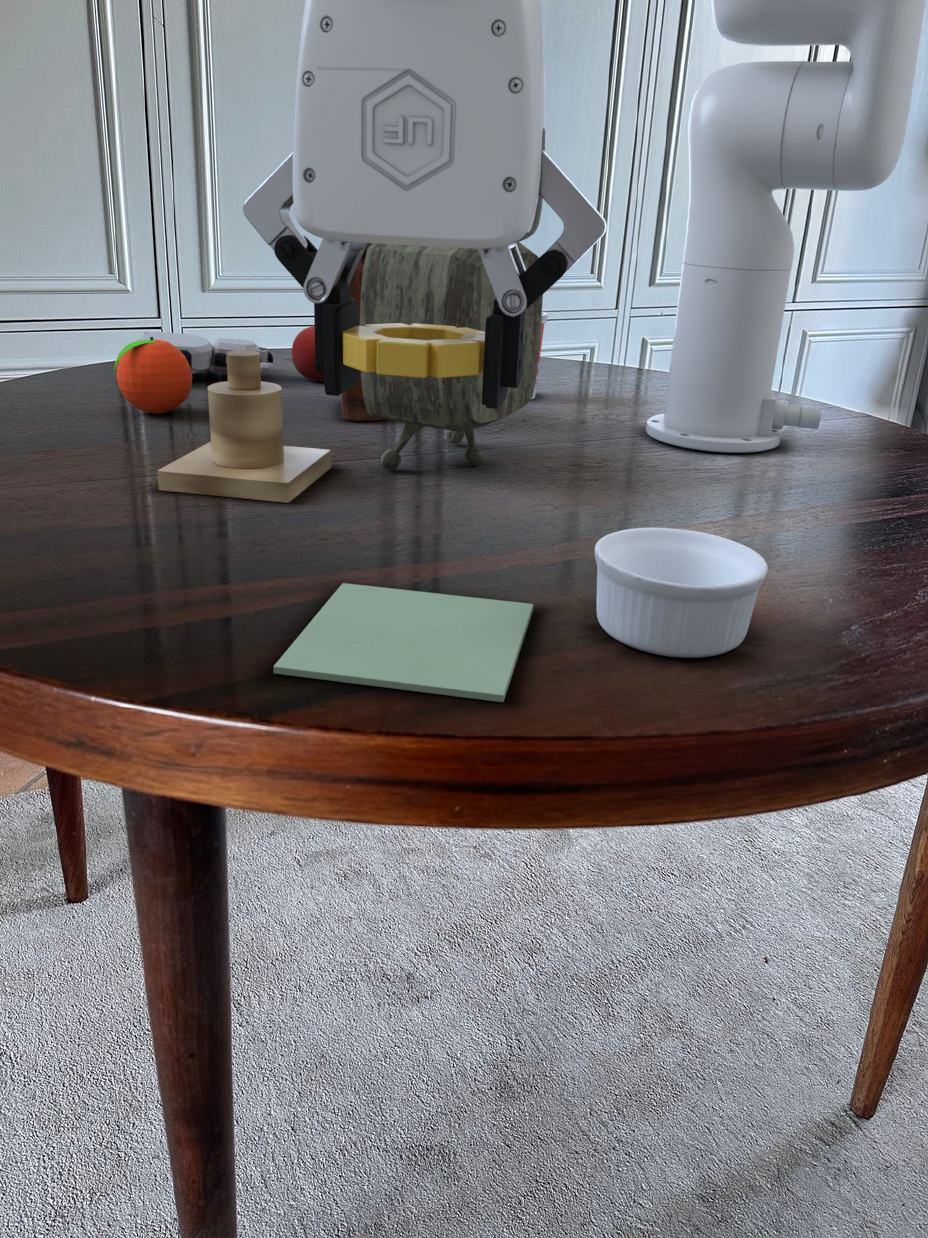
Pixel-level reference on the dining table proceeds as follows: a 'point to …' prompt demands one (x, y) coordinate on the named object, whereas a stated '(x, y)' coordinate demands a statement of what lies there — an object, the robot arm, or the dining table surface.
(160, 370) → the clementine
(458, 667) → the mat
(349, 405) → the wooden figurine
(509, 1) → the robot arm
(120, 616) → the dining table surface
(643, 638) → the ramekin
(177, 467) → the stand
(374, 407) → the tabletop clock
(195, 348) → the robot toy
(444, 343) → the ring
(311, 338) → the kendama
